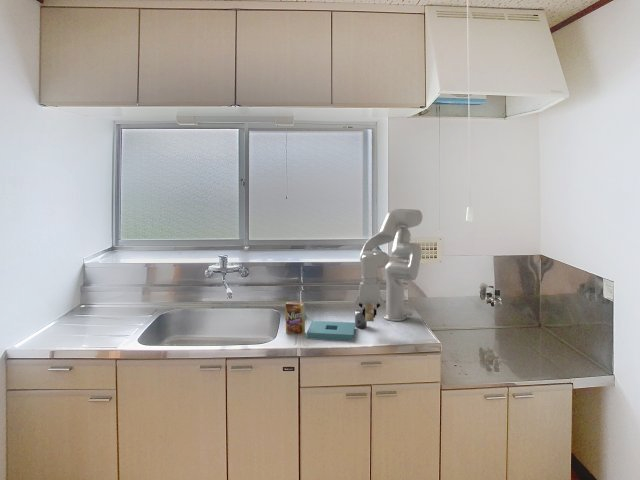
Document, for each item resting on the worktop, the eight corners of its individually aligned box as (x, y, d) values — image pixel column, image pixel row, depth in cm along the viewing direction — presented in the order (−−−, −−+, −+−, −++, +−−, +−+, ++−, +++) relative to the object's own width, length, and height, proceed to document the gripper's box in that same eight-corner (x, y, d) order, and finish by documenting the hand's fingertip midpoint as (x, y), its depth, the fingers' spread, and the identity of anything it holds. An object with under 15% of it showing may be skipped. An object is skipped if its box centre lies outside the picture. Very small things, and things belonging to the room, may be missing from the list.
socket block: (354, 328, 194) (354, 322, 193) (353, 340, 178) (353, 334, 177) (312, 326, 196) (311, 320, 196) (306, 338, 181) (306, 332, 180)
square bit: (373, 318, 186) (373, 300, 185) (373, 321, 182) (373, 303, 181) (365, 318, 187) (365, 300, 185) (365, 321, 183) (365, 303, 181)
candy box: (285, 333, 187) (284, 303, 185) (288, 330, 191) (288, 301, 189) (302, 335, 184) (302, 305, 182) (305, 332, 189) (305, 302, 186)
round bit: (366, 324, 199) (366, 309, 198) (366, 329, 193) (366, 313, 192) (355, 324, 199) (355, 309, 198) (354, 328, 194) (354, 313, 192)
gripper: (387, 278, 184) (386, 314, 187) (352, 277, 186) (352, 313, 189) (387, 282, 176) (387, 319, 179) (351, 281, 179) (351, 318, 182)
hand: (369, 316), depth 184 cm, fingers closed on square bit, 4 cm apart
